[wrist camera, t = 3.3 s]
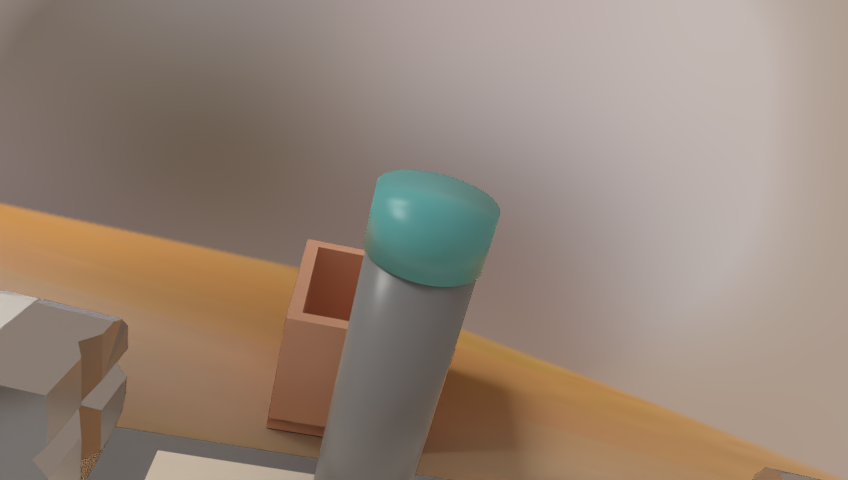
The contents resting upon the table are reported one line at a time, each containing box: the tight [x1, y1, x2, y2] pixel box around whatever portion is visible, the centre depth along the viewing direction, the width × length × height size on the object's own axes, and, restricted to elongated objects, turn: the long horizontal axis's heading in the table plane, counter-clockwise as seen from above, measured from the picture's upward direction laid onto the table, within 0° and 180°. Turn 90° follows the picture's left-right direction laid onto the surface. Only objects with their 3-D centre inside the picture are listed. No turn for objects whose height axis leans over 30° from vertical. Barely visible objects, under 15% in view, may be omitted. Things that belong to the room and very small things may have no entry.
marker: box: [314, 170, 500, 480], centre depth 24 cm, size 4×4×14 cm
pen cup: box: [266, 239, 455, 453], centre depth 33 cm, size 7×7×6 cm
